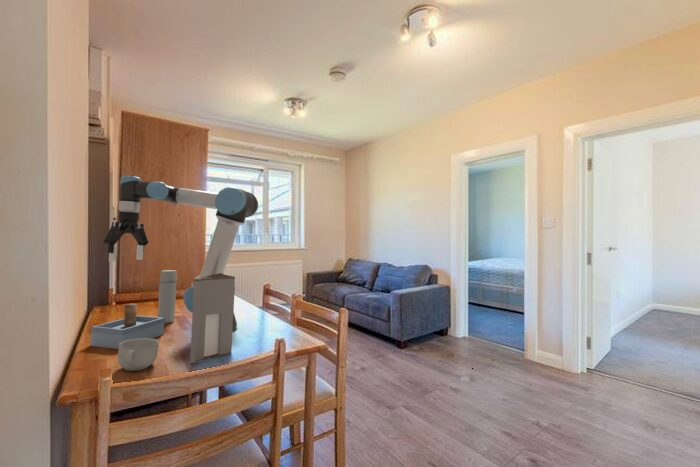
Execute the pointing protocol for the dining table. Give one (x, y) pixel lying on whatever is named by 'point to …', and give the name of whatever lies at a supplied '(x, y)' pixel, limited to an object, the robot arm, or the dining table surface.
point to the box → (126, 331)
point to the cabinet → (212, 317)
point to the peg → (130, 315)
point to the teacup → (137, 353)
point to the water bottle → (167, 295)
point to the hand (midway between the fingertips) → (126, 260)
